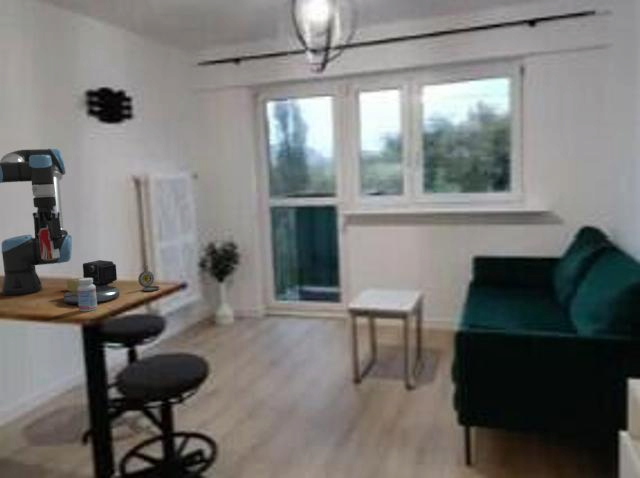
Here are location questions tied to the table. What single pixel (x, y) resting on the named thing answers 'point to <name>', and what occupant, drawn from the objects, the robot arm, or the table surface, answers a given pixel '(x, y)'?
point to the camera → (100, 272)
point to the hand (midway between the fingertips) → (50, 257)
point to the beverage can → (45, 244)
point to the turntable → (101, 292)
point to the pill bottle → (87, 295)
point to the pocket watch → (147, 280)
